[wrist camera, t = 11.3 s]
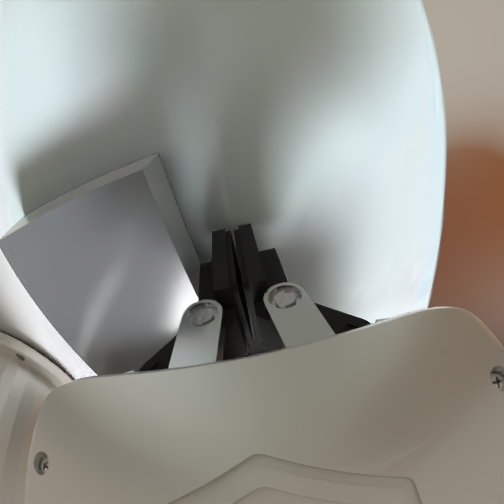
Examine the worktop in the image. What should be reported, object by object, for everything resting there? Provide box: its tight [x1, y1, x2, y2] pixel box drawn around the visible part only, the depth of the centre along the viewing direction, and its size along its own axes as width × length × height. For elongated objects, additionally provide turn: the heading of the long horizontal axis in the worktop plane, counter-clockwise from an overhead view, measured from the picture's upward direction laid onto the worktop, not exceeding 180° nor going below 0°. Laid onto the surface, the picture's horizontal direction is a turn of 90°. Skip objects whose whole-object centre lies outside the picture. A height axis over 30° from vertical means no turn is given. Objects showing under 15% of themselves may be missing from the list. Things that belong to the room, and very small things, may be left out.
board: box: [0, 153, 201, 376], centre depth 14 cm, size 16×8×3 cm, turn 13°
